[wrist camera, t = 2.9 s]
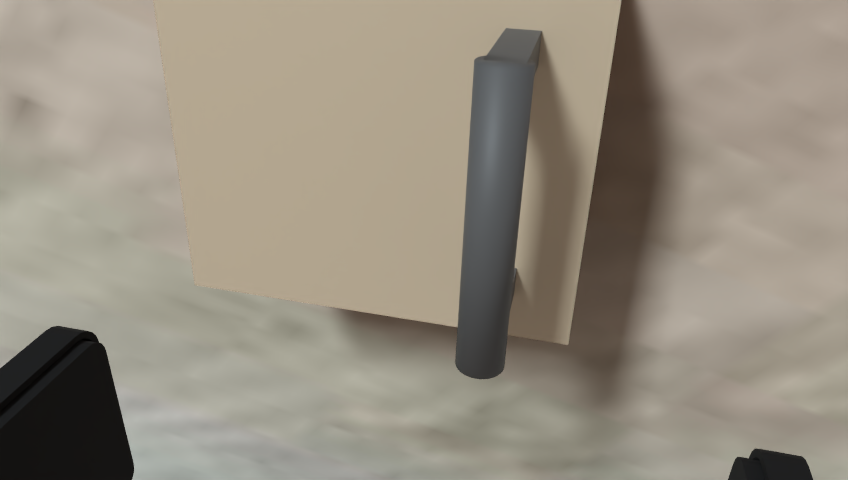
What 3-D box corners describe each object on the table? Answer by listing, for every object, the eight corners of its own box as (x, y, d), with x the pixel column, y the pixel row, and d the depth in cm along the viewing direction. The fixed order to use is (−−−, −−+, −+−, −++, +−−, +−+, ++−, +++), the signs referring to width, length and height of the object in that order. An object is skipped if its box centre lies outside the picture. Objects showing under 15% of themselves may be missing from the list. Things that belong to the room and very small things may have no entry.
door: (625, -34, 19) (630, -5, 14) (569, 331, 24) (559, 441, 20) (159, -60, 21) (30, -43, 17) (205, 274, 27) (119, 358, 22)
